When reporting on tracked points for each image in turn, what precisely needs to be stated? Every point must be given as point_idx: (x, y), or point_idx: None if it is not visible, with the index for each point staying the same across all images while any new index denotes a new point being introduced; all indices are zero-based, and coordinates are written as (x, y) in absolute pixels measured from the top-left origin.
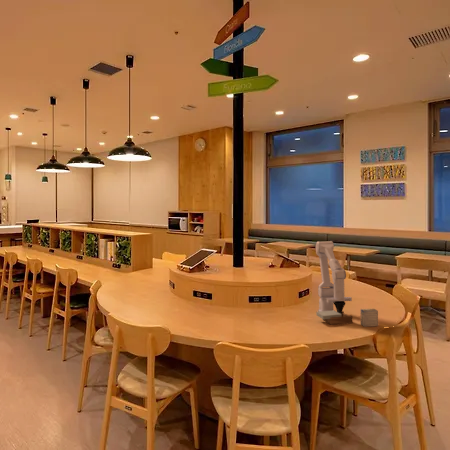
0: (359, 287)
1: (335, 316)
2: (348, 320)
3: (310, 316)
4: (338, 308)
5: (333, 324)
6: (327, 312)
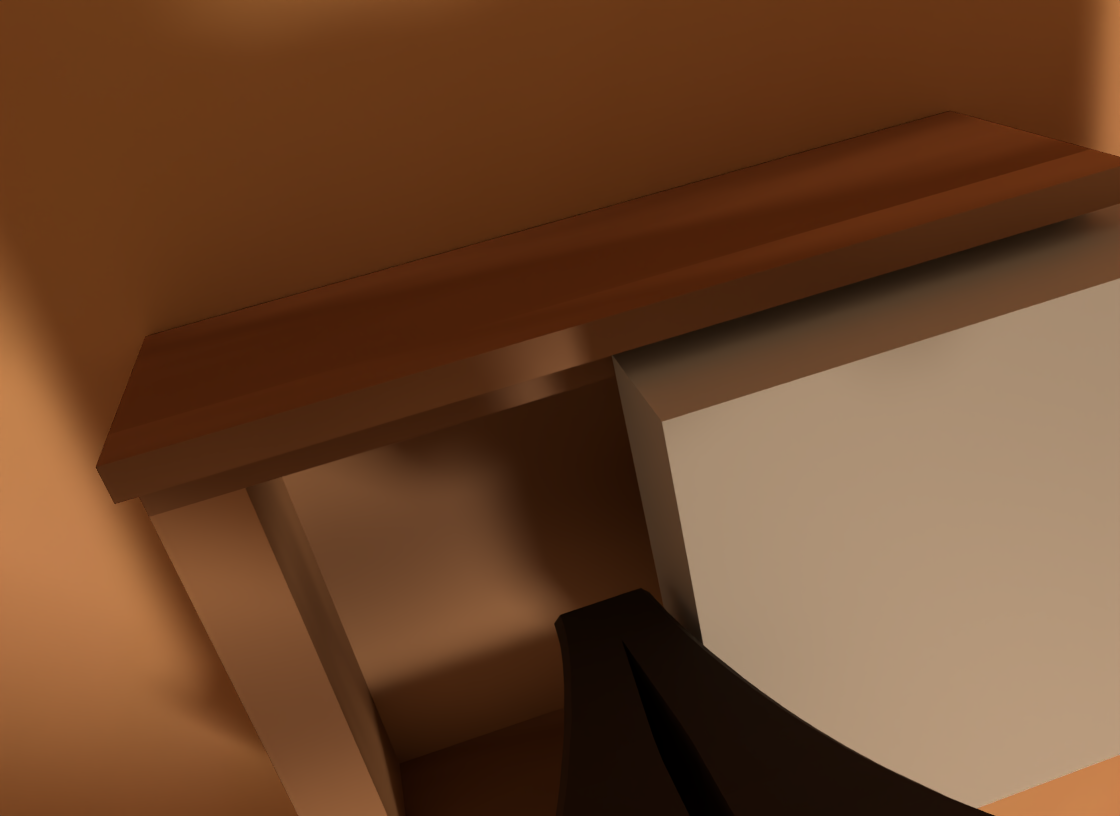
0: None
1: (910, 302)
2: (307, 333)
3: (1096, 790)
4: (826, 735)
5: (865, 140)
6: (1089, 626)
